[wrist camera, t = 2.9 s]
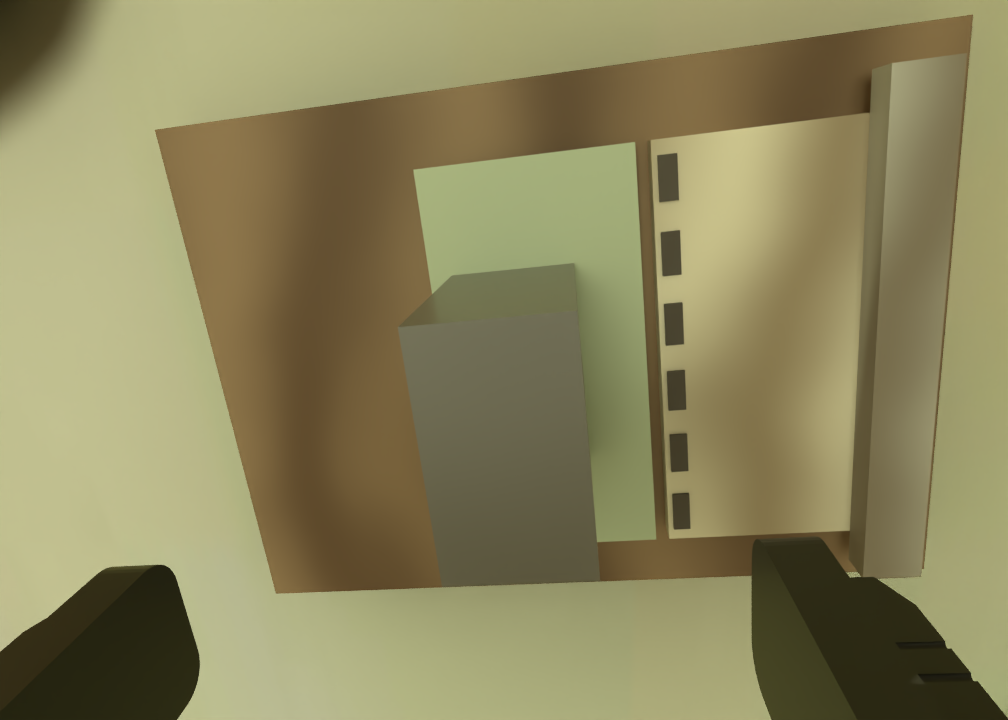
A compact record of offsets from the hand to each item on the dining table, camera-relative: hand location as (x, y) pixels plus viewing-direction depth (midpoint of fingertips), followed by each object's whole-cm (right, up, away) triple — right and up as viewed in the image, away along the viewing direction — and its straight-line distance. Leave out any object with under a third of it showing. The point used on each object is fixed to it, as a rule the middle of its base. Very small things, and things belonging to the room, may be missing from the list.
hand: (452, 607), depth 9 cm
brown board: (+3, +4, +12) cm, 13 cm away
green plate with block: (+2, +3, +10) cm, 11 cm away
